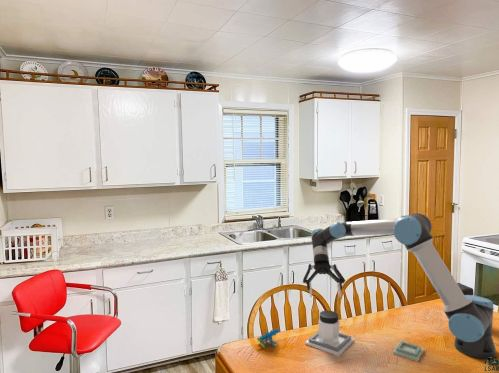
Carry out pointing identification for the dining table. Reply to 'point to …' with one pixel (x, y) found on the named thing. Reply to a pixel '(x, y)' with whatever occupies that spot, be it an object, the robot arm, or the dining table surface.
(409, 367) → the dining table surface
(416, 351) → the small collar
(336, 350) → the grey picture frame
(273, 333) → the blue green toy
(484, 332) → the robot arm
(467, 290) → the coffee jar
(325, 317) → the jar
